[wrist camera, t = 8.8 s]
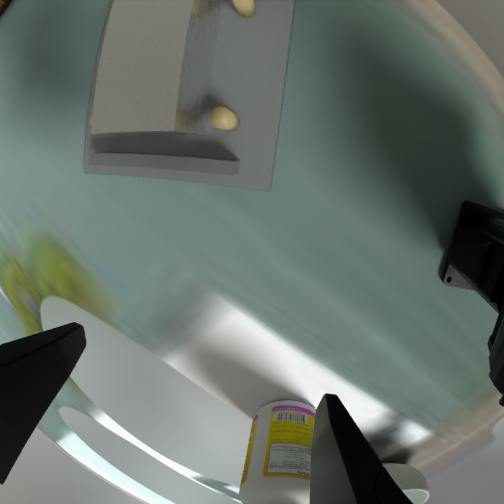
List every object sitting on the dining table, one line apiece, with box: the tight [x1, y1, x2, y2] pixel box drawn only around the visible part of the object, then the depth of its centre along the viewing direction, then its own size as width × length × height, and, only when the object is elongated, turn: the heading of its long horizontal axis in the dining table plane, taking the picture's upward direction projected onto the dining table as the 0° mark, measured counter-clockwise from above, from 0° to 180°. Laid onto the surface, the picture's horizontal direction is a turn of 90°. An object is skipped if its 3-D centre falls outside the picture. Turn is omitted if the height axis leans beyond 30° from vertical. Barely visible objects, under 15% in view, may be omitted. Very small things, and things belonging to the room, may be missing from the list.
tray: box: [84, 0, 295, 192], centre depth 15 cm, size 14×16×4 cm
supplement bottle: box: [239, 400, 316, 504], centre depth 19 cm, size 7×7×13 cm
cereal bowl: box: [382, 463, 430, 504], centre depth 25 cm, size 17×17×7 cm
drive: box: [91, 0, 223, 136], centre depth 13 cm, size 5×10×5 cm, turn 174°
